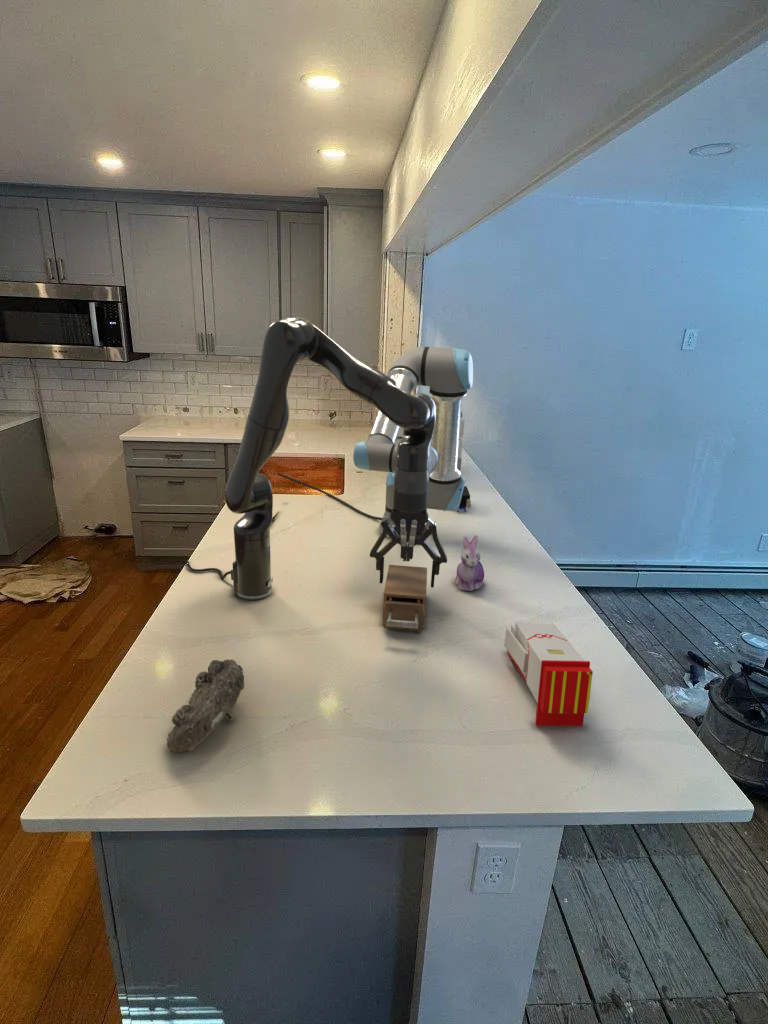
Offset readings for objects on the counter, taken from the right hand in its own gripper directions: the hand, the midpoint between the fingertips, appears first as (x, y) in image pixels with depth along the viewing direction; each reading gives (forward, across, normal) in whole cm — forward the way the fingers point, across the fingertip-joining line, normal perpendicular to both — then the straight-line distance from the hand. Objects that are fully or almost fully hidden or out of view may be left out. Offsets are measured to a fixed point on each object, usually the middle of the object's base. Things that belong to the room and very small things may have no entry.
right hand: (406, 583), depth 151 cm
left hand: (-15, 0, -18) cm, 23 cm away
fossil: (+7, -34, -50) cm, 61 cm away
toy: (+6, +30, -30) cm, 43 cm away
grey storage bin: (+5, 0, +130) cm, 130 cm away
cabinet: (+6, 0, -4) cm, 7 cm away
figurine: (+6, +18, +14) cm, 24 cm away
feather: (+6, -51, +59) cm, 78 cm away
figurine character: (+5, +18, +83) cm, 85 cm away
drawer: (+5, 0, -10) cm, 11 cm away
